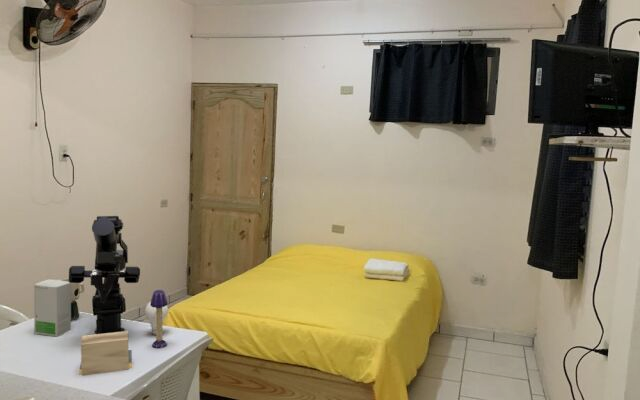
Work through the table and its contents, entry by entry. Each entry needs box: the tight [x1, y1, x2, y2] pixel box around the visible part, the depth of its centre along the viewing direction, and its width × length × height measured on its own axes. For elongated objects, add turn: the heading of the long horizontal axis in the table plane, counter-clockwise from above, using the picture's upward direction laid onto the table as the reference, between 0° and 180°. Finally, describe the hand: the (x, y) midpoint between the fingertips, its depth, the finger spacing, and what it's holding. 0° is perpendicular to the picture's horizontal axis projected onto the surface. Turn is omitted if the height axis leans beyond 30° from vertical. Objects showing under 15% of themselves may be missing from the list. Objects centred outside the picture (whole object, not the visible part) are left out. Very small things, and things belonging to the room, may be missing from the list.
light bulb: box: [144, 301, 169, 336], centre depth 153 cm, size 7×7×11 cm
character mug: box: [58, 277, 85, 321], centre depth 165 cm, size 11×7×13 cm, turn 142°
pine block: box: [80, 330, 130, 376], centre depth 131 cm, size 6×11×8 cm, turn 111°
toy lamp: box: [150, 289, 168, 350], centre depth 144 cm, size 5×5×17 cm
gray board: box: [78, 349, 133, 375], centre depth 134 cm, size 12×13×1 cm
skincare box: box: [33, 278, 72, 338], centre depth 154 cm, size 8×7×16 cm
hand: (103, 302), depth 141 cm, fingers closed
